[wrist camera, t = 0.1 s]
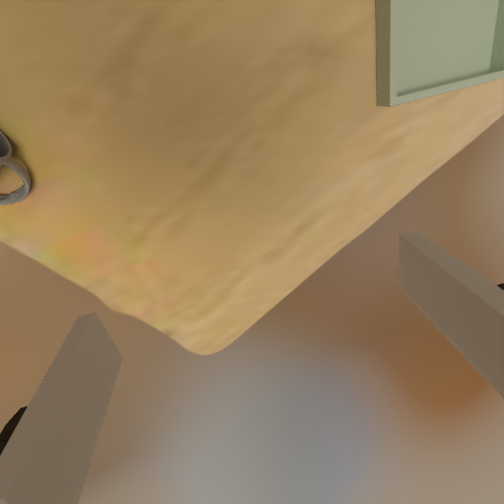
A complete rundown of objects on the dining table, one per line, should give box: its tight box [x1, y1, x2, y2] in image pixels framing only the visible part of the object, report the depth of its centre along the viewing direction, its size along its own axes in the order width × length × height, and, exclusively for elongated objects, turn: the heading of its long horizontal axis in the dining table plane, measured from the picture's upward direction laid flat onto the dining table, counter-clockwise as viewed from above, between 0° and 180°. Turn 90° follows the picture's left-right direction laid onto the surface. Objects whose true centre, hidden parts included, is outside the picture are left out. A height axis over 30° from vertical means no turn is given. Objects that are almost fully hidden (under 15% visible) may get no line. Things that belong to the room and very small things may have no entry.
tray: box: [376, 0, 504, 107], centre depth 32 cm, size 14×14×3 cm
